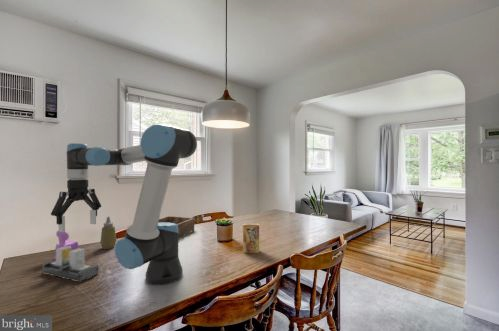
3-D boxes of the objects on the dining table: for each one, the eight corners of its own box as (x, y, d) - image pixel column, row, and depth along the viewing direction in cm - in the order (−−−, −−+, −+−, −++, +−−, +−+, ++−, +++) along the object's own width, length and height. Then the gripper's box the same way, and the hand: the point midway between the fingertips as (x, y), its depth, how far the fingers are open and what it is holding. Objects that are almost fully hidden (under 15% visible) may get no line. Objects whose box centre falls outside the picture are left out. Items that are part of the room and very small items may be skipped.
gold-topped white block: (91, 270, 105) (91, 250, 105) (82, 274, 101) (82, 253, 101) (77, 268, 108) (77, 248, 107) (68, 271, 104) (68, 251, 104)
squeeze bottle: (114, 244, 145) (114, 214, 145) (118, 247, 139) (118, 216, 139) (98, 247, 139) (98, 216, 139) (102, 251, 133) (102, 219, 133)
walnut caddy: (194, 230, 175) (194, 218, 175) (165, 244, 145) (165, 229, 145) (168, 227, 182) (168, 215, 182) (136, 240, 153) (136, 226, 153)
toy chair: (80, 255, 128) (80, 227, 127) (63, 261, 119) (63, 231, 119) (69, 253, 130) (69, 226, 130) (51, 259, 122) (51, 230, 122)
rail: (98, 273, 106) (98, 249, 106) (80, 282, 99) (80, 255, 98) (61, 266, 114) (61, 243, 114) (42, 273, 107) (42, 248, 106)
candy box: (258, 250, 135) (258, 223, 135) (259, 253, 131) (259, 225, 131) (243, 250, 135) (243, 223, 135) (243, 253, 131) (243, 225, 131)
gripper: (52, 181, 92) (52, 236, 92) (109, 177, 115) (109, 221, 115) (39, 180, 94) (39, 234, 94) (98, 177, 118) (98, 220, 118)
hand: (78, 227), depth 105 cm, fingers open, 13 cm apart
